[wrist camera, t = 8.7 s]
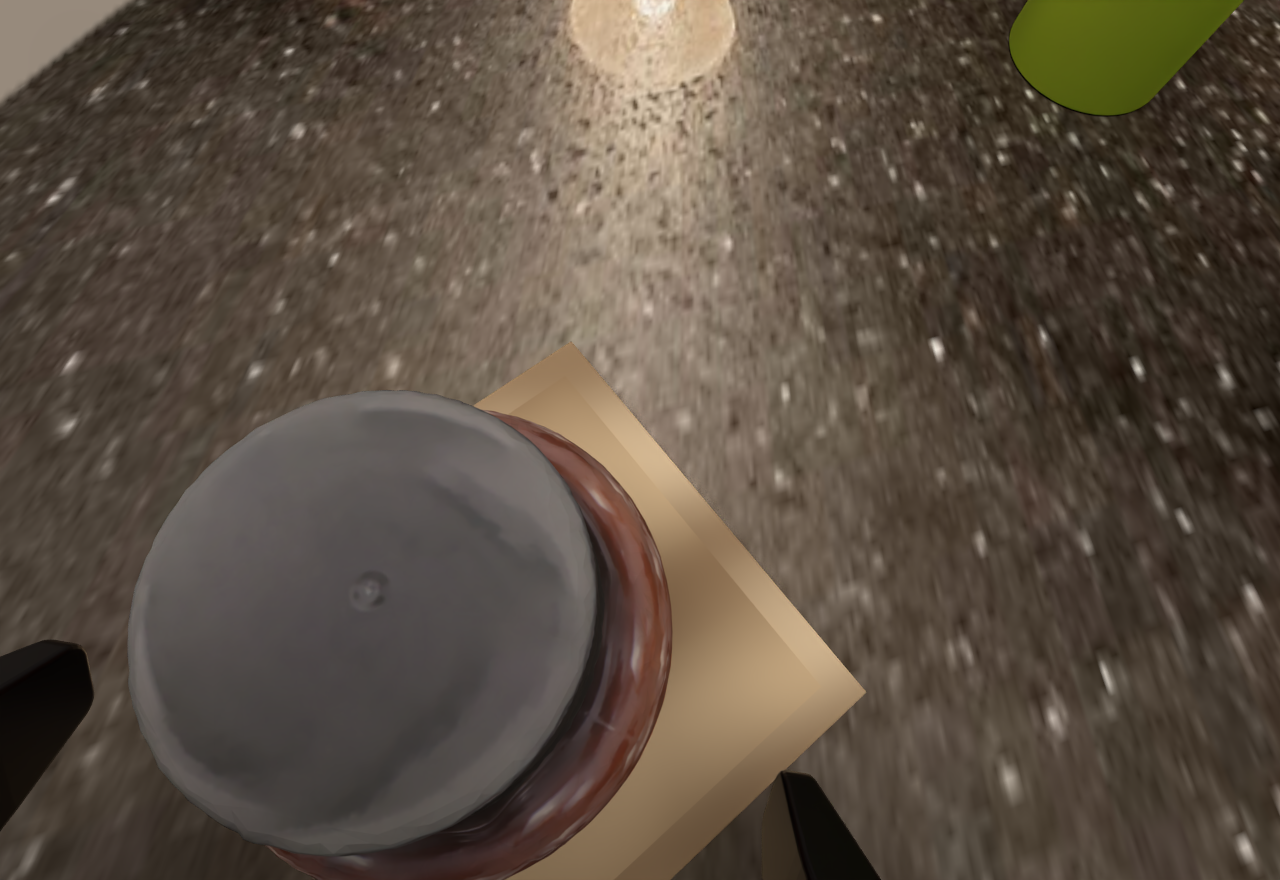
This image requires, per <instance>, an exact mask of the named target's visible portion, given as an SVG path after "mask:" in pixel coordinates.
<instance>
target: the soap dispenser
mask: <svg viewBox="0 0 1280 880" xmlns="http://www.w3.org/2000/svg"><path fill="white" fill-rule="evenodd" d="M1243 1H1244V0H1028V1H1027V2H1026V4H1025V6H1024V7H1023V9H1022V10H1021V12H1020V14H1019V15H1018V17H1017V19H1016V20H1015V22H1014V24H1013V26H1012V28H1011V31H1010V36H1009V46H1010V52H1011V55H1012V58H1013V60H1014V63H1015V65H1016V66H1017V68H1018V70H1019V71H1020V73H1021V74H1022V75H1023V76H1024V78H1025V79H1026V80H1027V81H1028V82H1029V83H1030V84H1031V85H1032V86H1033V87H1034V88H1035V89H1037V90H1038V91H1039V92H1040V93H1042V94H1043V95H1045V96H1046V97H1048V98H1049V99H1051V100H1053V101H1054V102H1056V103H1058V104H1060V105H1063V106H1065V107H1067V108H1070V109H1073V110H1076V111H1080V112H1084V113H1088V114H1095V115H1119V114H1124V113H1128V112H1131V111H1134V110H1137V109H1139V108H1140V107H1142V106H1144V105H1145V104H1147V103H1148V102H1149V101H1150V100H1151V99H1152V98H1153V97H1154V96H1155V95H1156V94H1157V93H1158V92H1159V91H1160V90H1161V88H1162V87H1163V86H1164V85H1165V84H1166V83H1167V82H1168V81H1169V80H1170V79H1171V78H1172V77H1173V76H1174V75H1175V74H1176V72H1177V71H1178V70H1179V69H1180V68H1181V67H1182V66H1183V65H1184V64H1185V63H1186V62H1187V61H1188V60H1189V59H1190V57H1191V56H1192V55H1193V54H1194V53H1195V52H1196V51H1197V50H1198V49H1199V48H1200V47H1201V46H1202V45H1203V44H1204V42H1205V41H1206V40H1207V39H1208V38H1209V37H1210V36H1211V35H1212V34H1213V33H1214V32H1215V31H1216V30H1217V29H1218V28H1219V26H1220V25H1221V24H1222V23H1223V22H1224V21H1225V20H1226V19H1227V18H1228V17H1229V16H1230V15H1231V14H1232V13H1233V11H1234V10H1235V9H1236V8H1237V7H1238V6H1239V5H1240V4H1241V3H1242V2H1243Z"/></svg>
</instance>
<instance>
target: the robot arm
mask: <svg viewBox="0 0 1280 880" xmlns="http://www.w3.org/2000/svg"><path fill="white" fill-rule="evenodd" d="M93 699H94V687H93V682H92V678H91V673H90V668H89V663H88V658H87V654H86V651H85V649H84V648H83V647H82V646H81V645H79V644H75V643H70V642H64V641H58V640H43V641H40V642H37V643H34V644H32V645H29V646H27V647H24V648H21V649H19V650H16V651H14V652H11V653H9V654H6V655H3V656H1V657H0V831H1V830H2V828H3V827H4V826H5V824H6V823H7V822H8V821H9V819H10V818H11V817H12V815H13V814H14V813H15V811H16V810H17V809H18V807H19V806H20V805H21V803H22V802H23V801H24V799H25V798H26V797H27V795H28V794H29V792H30V791H31V790H32V788H33V787H34V786H35V784H36V783H37V781H38V780H39V779H40V777H41V776H42V775H43V773H44V772H45V770H46V769H47V768H48V766H49V765H50V764H51V762H52V761H53V760H54V758H55V757H56V755H57V754H58V753H59V751H60V750H61V749H62V747H63V746H64V744H65V743H66V742H67V740H68V739H69V738H70V736H71V735H72V733H73V732H74V731H75V729H76V728H77V727H78V725H79V724H80V723H81V721H82V720H83V718H84V717H85V716H86V714H87V713H88V711H89V709H90V707H91V705H92V702H93ZM762 880H881V879H880V877H879V876H878V874H877V873H876V871H875V870H874V868H873V867H872V865H871V864H870V862H869V861H868V859H867V858H866V856H865V854H864V853H863V851H862V850H861V848H860V847H859V845H858V844H857V842H856V841H855V839H854V838H853V836H852V835H851V833H850V832H849V830H848V829H847V827H846V826H845V824H844V823H843V821H842V820H841V818H840V816H839V815H838V813H837V812H836V810H835V809H834V807H833V806H832V804H831V803H830V801H829V800H828V798H827V797H826V795H825V794H824V792H823V791H822V789H821V788H820V786H819V785H818V783H817V781H816V780H815V779H814V778H813V777H812V776H811V775H809V774H806V773H800V772H794V771H789V770H781V771H780V772H779V773H778V774H777V776H776V779H775V782H774V785H773V788H772V791H771V794H770V796H769V799H768V802H767V805H766V808H765V811H764V815H763V821H762Z"/></svg>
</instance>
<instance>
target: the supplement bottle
mask: <svg viewBox="0 0 1280 880" xmlns="http://www.w3.org/2000/svg"><path fill="white" fill-rule="evenodd" d="M672 633H673V630H672V611H671V602H670V595H669V589H668V584H667V579H666V575H665V572H664V568H663V564H662V560H661V556H660V553H659V551H658V548H657V546H656V543H655V541H654V538H653V536H652V534H651V532H650V530H649V528H648V526H647V524H646V522H645V520H644V518H643V516H642V515H641V513H640V511H639V510H638V508H637V506H636V505H635V503H634V501H633V500H632V498H631V497H630V496H629V494H628V493H627V492H626V491H625V490H624V488H623V487H622V486H621V485H620V483H619V482H618V481H617V480H616V479H615V478H614V477H613V476H612V475H611V473H610V472H609V471H608V470H607V469H606V468H605V467H604V466H603V465H602V464H601V463H600V462H598V461H597V460H596V459H595V458H593V457H592V456H591V455H590V454H588V453H587V452H586V451H584V450H583V449H581V448H580V447H579V446H577V445H576V444H574V443H573V442H571V441H569V440H568V439H566V438H565V437H563V436H562V435H561V434H559V433H556V432H554V431H552V430H550V429H548V428H546V427H544V426H541V425H538V424H536V423H534V422H532V421H528V420H525V419H522V418H519V417H516V416H512V415H507V414H502V413H499V412H496V411H489V410H481V409H479V408H476V407H474V406H472V405H469V404H466V403H463V402H461V401H459V400H454V399H449V398H446V397H443V396H440V395H437V394H426V393H421V392H417V391H405V390H399V391H392V390H382V391H362V392H358V393H354V394H348V395H341V396H335V397H330V398H324V399H321V400H318V401H315V402H312V403H309V404H307V405H304V406H302V407H299V408H297V409H295V410H293V411H291V412H289V413H287V414H285V415H283V416H281V417H279V418H277V419H275V420H273V421H271V422H268V423H266V424H264V425H262V426H260V427H258V428H256V429H255V430H253V431H252V432H251V433H250V434H248V435H247V436H246V437H245V438H244V439H242V440H241V441H239V442H238V443H236V444H235V445H234V446H232V447H231V448H230V449H228V450H227V451H226V452H225V453H223V454H222V455H221V456H220V457H219V458H217V459H216V460H215V461H214V462H213V463H212V464H211V465H209V466H208V467H207V468H206V469H205V470H204V471H203V472H202V474H201V475H200V476H199V477H198V478H197V480H196V481H195V482H194V483H193V484H192V485H191V486H190V487H189V488H187V489H186V491H185V492H184V494H183V495H182V497H181V499H180V500H179V502H178V503H177V505H176V506H175V507H174V508H173V510H172V511H171V512H170V514H169V515H168V516H167V518H166V520H165V522H164V524H163V525H162V527H161V529H160V531H159V532H158V534H157V536H156V538H155V540H154V542H153V545H152V548H151V551H150V552H149V554H148V555H147V557H146V559H145V562H144V564H143V567H142V570H141V572H140V575H139V578H138V580H137V583H136V586H135V590H134V595H133V600H132V606H131V611H130V616H129V625H128V663H129V678H128V685H129V691H130V694H131V698H132V703H133V708H134V710H135V713H136V716H137V719H138V722H139V726H140V730H141V733H142V734H143V736H144V738H145V740H146V742H147V743H148V745H149V747H150V749H151V751H152V753H153V755H154V758H155V760H156V762H157V765H158V768H159V769H160V770H161V771H162V772H163V773H164V774H165V776H166V777H167V778H168V779H169V780H170V782H171V783H172V784H173V785H174V786H175V787H176V788H177V789H178V790H179V791H180V792H182V793H183V795H184V796H185V797H186V799H187V800H188V801H189V802H191V803H192V804H194V805H195V806H197V807H198V808H200V809H201V810H203V811H204V812H205V813H206V814H207V815H208V816H210V817H211V818H213V819H214V820H216V821H217V822H218V823H220V824H221V825H223V826H224V827H226V828H229V829H231V830H233V831H235V832H237V833H239V834H240V836H241V837H242V839H243V840H246V841H249V842H252V843H255V844H261V845H264V846H266V847H267V848H269V849H270V850H271V851H272V852H274V853H275V855H276V856H277V857H279V858H280V859H282V860H284V861H285V862H286V863H288V864H289V865H290V866H292V867H293V868H294V869H296V870H299V871H301V872H303V873H305V874H308V875H310V876H312V877H314V878H316V879H317V880H505V879H507V878H509V877H511V876H513V875H515V874H517V873H519V872H521V871H523V870H525V869H527V868H529V867H530V866H532V865H534V864H536V863H538V862H539V861H541V860H543V859H545V858H547V857H548V856H550V855H551V854H553V853H554V852H555V851H557V850H558V849H559V848H560V847H562V846H563V845H565V844H566V843H567V842H568V841H569V840H570V839H571V838H573V837H574V836H575V835H576V834H577V833H579V832H580V831H581V830H583V829H584V828H585V827H586V826H587V825H588V824H589V823H590V822H591V821H592V820H593V819H594V818H595V817H596V816H597V815H598V814H599V813H600V812H601V811H602V809H603V808H604V807H605V806H606V805H607V804H608V803H609V801H610V800H611V799H612V798H613V797H614V796H615V794H616V793H617V792H618V790H619V789H620V788H621V786H622V785H623V784H624V782H625V781H626V780H627V778H628V777H629V776H630V774H631V772H632V771H633V769H634V768H635V766H636V764H637V763H638V761H639V760H640V758H641V756H642V753H643V751H644V749H645V747H646V745H647V743H648V741H649V739H650V737H651V735H652V732H653V730H654V727H655V724H656V722H657V719H658V716H659V714H660V711H661V708H662V705H663V702H664V698H665V694H666V689H667V683H668V678H669V673H670V668H671V657H672Z"/></svg>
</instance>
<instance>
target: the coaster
mask: <svg viewBox="0 0 1280 880" xmlns="http://www.w3.org/2000/svg"><path fill="white" fill-rule="evenodd" d="M474 407H476V408H479V409H481V410H489V411H496V412H499V413H502V414H507V415H512V416H516V417H519V418H522V419H525V420H528V421H532V422H534V423H536V424H538V425H541V426H544V427H546V428H548V429H550V430H552V431H554V432H556V433H559V434H561V435H562V436H563V437H565V438H566V439H568V440H569V441H571V442H573V443H574V444H576V445H577V446H579V447H580V448H581V449H583V450H584V451H586V452H587V453H588V454H590V455H591V456H592V457H593V458H595V459H596V460H597V461H598V462H600V463H601V464H602V465H603V466H604V467H605V468H606V469H607V470H608V471H609V472H610V473H611V475H612V476H613V477H614V478H615V479H616V480H617V481H618V482H619V483H620V485H621V486H622V487H623V488H624V490H625V491H626V492H627V493H628V494H629V496H630V497H631V498H632V500H633V501H634V503H635V505H636V506H637V508H638V510H639V511H640V513H641V515H642V516H643V518H644V520H645V522H646V524H647V526H648V528H649V530H650V532H651V534H652V536H653V538H654V541H655V543H656V546H657V548H658V551H659V553H660V556H661V560H662V564H663V568H664V572H665V575H666V579H667V584H668V589H669V595H670V602H671V611H672V630H673V633H672V657H671V668H670V673H669V678H668V683H667V689H666V694H665V698H664V702H663V705H662V708H661V711H660V714H659V716H658V719H657V722H656V724H655V727H654V730H653V732H652V735H651V737H650V739H649V741H648V743H647V745H646V747H645V749H644V751H643V753H642V756H641V758H640V760H639V761H638V763H637V764H636V766H635V768H634V769H633V771H632V772H631V774H630V776H629V777H628V778H627V780H626V781H625V782H624V784H623V785H622V786H621V788H620V789H619V790H618V792H617V793H616V794H615V796H614V797H613V798H612V799H611V800H610V801H609V803H608V804H607V805H606V806H605V807H604V808H603V809H602V811H601V812H600V813H599V814H598V815H597V816H596V817H595V818H594V819H593V820H592V821H591V822H590V823H589V824H588V825H587V826H586V827H585V828H584V829H583V830H581V831H580V832H579V833H577V834H576V835H575V836H574V837H573V838H571V839H570V840H569V841H568V842H567V843H566V844H565V845H563V846H562V847H560V848H559V849H558V850H557V851H555V852H554V853H553V854H551V855H550V856H548V857H547V858H545V859H543V860H541V861H539V862H538V863H536V864H534V865H532V866H530V867H529V868H527V869H525V870H523V871H521V872H519V873H517V874H515V875H513V876H511V877H509V878H507V879H505V880H671V879H672V878H673V877H674V876H675V875H676V874H677V873H678V872H679V871H680V870H681V869H682V868H683V867H684V866H685V865H686V864H687V863H688V862H689V861H690V860H691V859H693V858H694V857H695V856H696V855H697V854H698V853H699V852H700V851H701V850H702V849H703V848H704V847H705V846H706V845H707V844H708V843H709V842H710V841H711V840H712V839H713V838H714V837H715V836H717V835H718V834H719V833H720V832H721V831H722V830H723V829H724V828H725V827H726V826H727V825H728V824H729V823H730V822H731V821H732V820H733V819H734V818H735V817H736V816H737V815H738V814H740V813H741V812H742V811H743V810H744V809H745V808H746V807H747V806H748V805H749V804H750V803H751V802H752V801H753V800H754V799H755V798H756V797H757V796H758V795H759V794H760V793H761V792H763V791H764V790H765V789H766V788H767V787H768V786H769V785H770V784H771V783H772V782H773V781H774V780H775V779H776V776H777V774H778V773H779V772H780V771H781V770H785V769H787V768H788V767H789V766H790V765H791V764H792V763H793V762H794V761H795V760H796V759H797V758H798V757H799V756H800V755H801V754H802V753H803V752H804V751H805V750H806V749H807V748H808V747H810V746H811V745H812V744H813V743H814V742H815V741H816V740H817V739H818V738H819V737H820V736H821V735H822V734H823V733H824V732H825V731H826V730H827V729H828V728H829V727H830V726H831V725H832V724H834V723H835V722H836V721H837V720H838V719H839V718H840V717H841V716H842V715H843V714H844V713H845V712H846V711H847V710H848V709H849V708H850V707H851V706H852V705H853V704H854V703H855V702H857V701H858V700H859V699H860V698H861V697H862V696H863V695H864V694H865V693H866V691H865V690H864V689H863V688H862V687H861V685H860V684H859V683H858V682H857V681H856V679H855V678H854V677H853V676H852V675H851V674H850V672H849V671H848V670H847V669H846V668H845V666H844V665H843V664H842V663H841V662H840V660H839V659H838V658H837V657H836V656H835V655H834V653H833V652H832V651H831V650H830V649H829V647H828V646H827V645H826V644H825V643H824V641H823V640H822V639H821V638H820V637H819V635H818V634H817V633H816V632H815V631H814V630H813V628H812V627H811V626H810V625H809V624H808V622H807V621H806V620H805V619H804V618H803V616H802V615H801V614H800V613H799V612H798V611H797V609H796V608H795V607H794V606H793V605H792V603H791V602H790V601H789V600H788V599H787V597H786V596H785V595H784V594H783V593H782V591H781V590H780V589H779V588H778V587H777V586H776V584H775V583H774V582H773V581H772V580H771V578H770V577H769V576H768V575H767V574H766V572H765V571H764V570H763V569H762V568H761V566H760V565H759V564H758V563H757V562H756V561H755V559H754V558H753V557H752V556H751V555H750V553H749V552H748V551H747V550H746V549H745V547H744V546H743V545H742V544H741V543H740V542H739V540H738V539H737V538H736V537H735V536H734V534H733V533H732V532H731V531H730V530H729V528H728V527H727V526H726V525H725V524H724V522H723V521H722V520H721V519H720V518H719V517H718V515H717V514H716V513H715V512H714V511H713V509H712V508H711V507H710V506H709V505H708V503H707V502H706V501H705V500H704V499H703V498H702V496H701V495H700V494H699V493H698V492H697V490H696V489H695V488H694V487H693V486H692V484H691V483H690V482H689V481H688V480H687V478H686V477H685V476H684V475H683V474H682V473H681V471H680V470H679V469H678V468H677V467H676V465H675V464H674V463H673V462H672V461H671V459H670V458H669V457H668V456H667V455H666V453H665V452H664V451H663V450H662V449H661V448H660V446H659V445H658V444H657V443H656V442H655V440H654V439H653V438H652V437H651V436H650V434H649V433H648V432H647V431H646V430H645V429H644V427H643V426H642V425H641V424H640V423H639V421H638V420H637V419H636V418H635V417H634V415H633V414H632V413H631V412H630V411H629V409H628V408H627V407H626V406H625V405H624V404H623V402H622V401H621V400H620V399H619V398H618V396H617V395H616V394H615V393H614V392H613V390H612V389H611V388H610V387H609V386H608V385H607V383H606V382H605V381H604V380H603V379H602V377H601V376H600V375H599V374H598V373H597V371H596V370H595V369H594V368H593V367H592V365H591V364H590V363H589V362H588V361H587V360H586V358H585V357H584V356H583V355H582V354H581V352H580V351H579V350H578V349H577V348H576V346H575V345H574V344H573V343H572V342H569V343H568V344H566V345H565V346H563V347H562V348H560V349H559V350H557V351H556V352H554V353H553V354H551V355H550V356H548V357H547V358H545V359H544V360H542V361H541V362H539V363H538V364H536V365H534V366H533V367H531V368H530V369H528V370H527V371H525V372H524V373H522V374H521V375H519V376H518V377H516V378H515V379H513V380H512V381H510V382H509V383H507V384H506V385H504V386H503V387H501V388H500V389H498V390H496V391H495V392H493V393H492V394H490V395H489V396H487V397H486V398H484V399H483V400H481V401H480V402H478V403H477V404H475V405H474Z"/></svg>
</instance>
